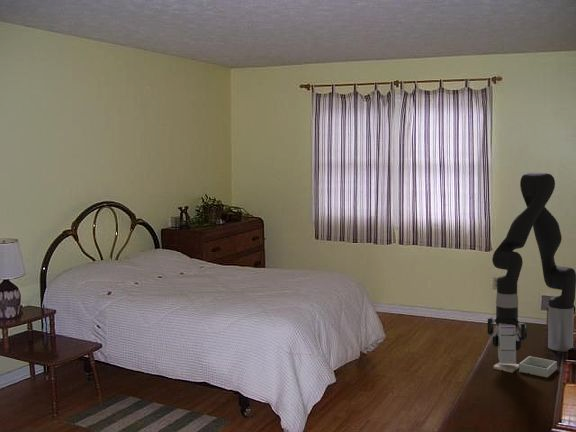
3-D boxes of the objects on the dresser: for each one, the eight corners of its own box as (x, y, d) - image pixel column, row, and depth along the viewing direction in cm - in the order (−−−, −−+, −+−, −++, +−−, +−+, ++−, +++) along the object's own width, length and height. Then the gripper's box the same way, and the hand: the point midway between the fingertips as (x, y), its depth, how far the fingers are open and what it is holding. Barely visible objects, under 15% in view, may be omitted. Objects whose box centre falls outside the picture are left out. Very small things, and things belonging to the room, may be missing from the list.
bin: (529, 363, 229) (529, 356, 229) (556, 369, 223) (556, 361, 222) (519, 371, 222) (519, 363, 222) (547, 377, 215) (547, 369, 215)
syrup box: (516, 364, 222) (516, 325, 221) (499, 363, 223) (499, 324, 222) (513, 358, 228) (514, 320, 226) (497, 358, 229) (497, 320, 227)
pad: (501, 363, 231) (501, 360, 231) (519, 367, 226) (519, 364, 226) (493, 368, 226) (493, 365, 226) (512, 372, 221) (512, 369, 221)
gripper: (530, 305, 222) (530, 349, 223) (492, 299, 231) (492, 342, 233) (522, 309, 216) (522, 354, 218) (483, 304, 225) (483, 347, 227)
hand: (506, 348), depth 225 cm, fingers closed on syrup box, 7 cm apart
